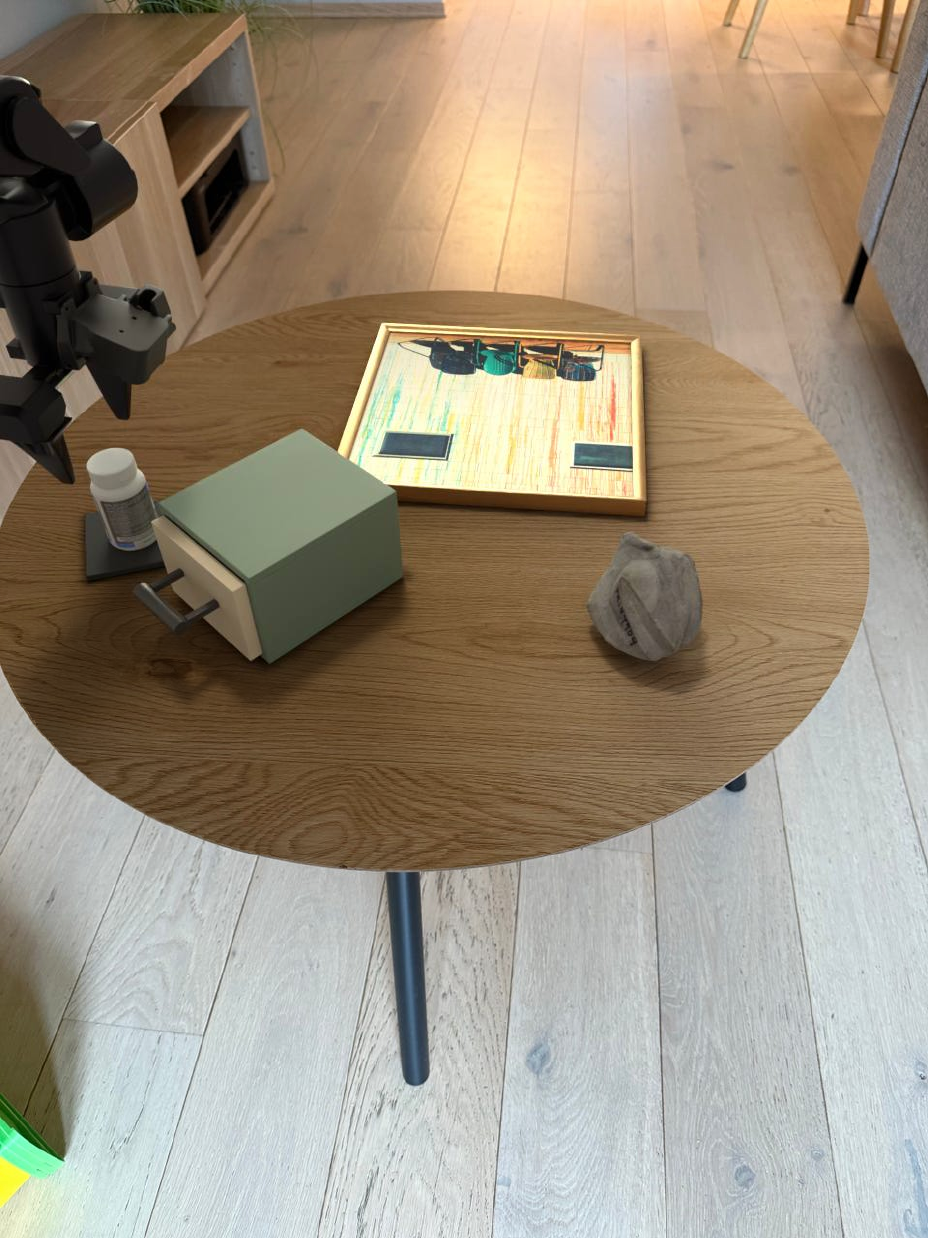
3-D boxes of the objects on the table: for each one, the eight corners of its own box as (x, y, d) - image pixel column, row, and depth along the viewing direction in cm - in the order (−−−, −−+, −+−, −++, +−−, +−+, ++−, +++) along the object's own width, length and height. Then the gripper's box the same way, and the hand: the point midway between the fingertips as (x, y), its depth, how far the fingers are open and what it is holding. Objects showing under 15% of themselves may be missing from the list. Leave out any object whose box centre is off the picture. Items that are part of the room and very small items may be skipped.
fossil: (561, 602, 81) (568, 531, 75) (650, 570, 84) (662, 499, 78) (632, 692, 74) (645, 621, 68) (726, 654, 77) (747, 582, 71)
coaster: (88, 581, 84) (86, 576, 83) (86, 518, 90) (84, 513, 89) (191, 561, 85) (189, 556, 85) (182, 500, 91) (181, 495, 91)
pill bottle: (172, 529, 87) (150, 454, 81) (136, 558, 85) (109, 484, 79) (135, 512, 89) (110, 438, 83) (98, 541, 86) (69, 466, 80)
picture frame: (641, 334, 108) (646, 500, 88) (639, 349, 110) (644, 516, 89) (381, 322, 111) (327, 481, 90) (383, 337, 112) (329, 496, 92)
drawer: (206, 690, 74) (183, 620, 68) (130, 615, 79) (103, 546, 74) (378, 578, 82) (371, 509, 76) (298, 519, 88) (286, 450, 82)
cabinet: (269, 664, 77) (248, 578, 70) (184, 588, 83) (157, 502, 76) (403, 576, 84) (396, 490, 77) (315, 512, 90) (301, 427, 83)
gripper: (68, 347, 60) (133, 535, 71) (194, 224, 72) (232, 400, 83) (-86, 327, 61) (1, 514, 73) (63, 211, 74) (117, 385, 85)
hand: (97, 449), depth 78 cm, fingers open, 9 cm apart
